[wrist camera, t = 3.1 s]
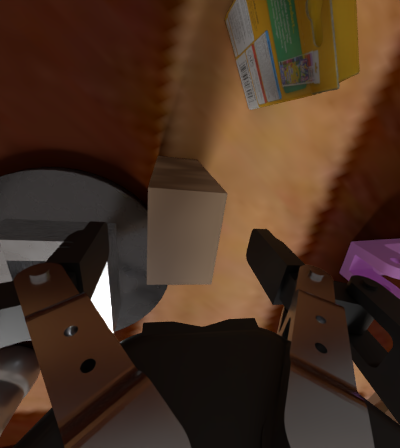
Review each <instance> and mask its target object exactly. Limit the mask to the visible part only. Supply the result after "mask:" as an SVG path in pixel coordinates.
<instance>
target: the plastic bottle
mask: <svg viewBox="0 0 400 448" xmlns="http://www.w3.org/2000/svg"><path fill="white" fill-rule="evenodd" d="M39 372H40V366H39V363H38V360H37V357H36V354H35V350H33V349H31V348H28V347H24V346H9V347H6V348H3V349H1V351H0V435H1V433H2V432H3V430H4V428H5V427H6V425H7V424H8V422H9V420H10V419H11V417H12V415H13V414H14V412H15V411H16V409H17V407H18V406H19V404H20V403H21V401H22V399H23V398H24V397H25V396H26V395H27V393H28V392H29V391H30V389H31V388H32V386H33V385H34V383H35V381H36V380H37V378H38V375H39Z"/></svg>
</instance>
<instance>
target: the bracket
mask: <svg viewBox="0 0 400 448" xmlns="http://www.w3.org/2000/svg"><path fill="white" fill-rule="evenodd" d="M340 274H341V275H342V276H343V277H345V278H346V279H347V280H348V281H349V280H350V278H351V276H353V275H360V276H364V277H367V278H370V279H372V280H374V281H376V282H378V283H379V284H381V285H382V286H384V287H385V288H386V289H387V290H389V291H390V292H391V293H393V294H394V295H395V296H396V297H398V298H399V299H400V289H399V288H398V287H396V286H395V285H393V284H392V283H391V282H389V281H388V280H386V279H385V278H383V277H382V276H381V275H387V276H390V277H392V278H396V279H400V239H384V240H368V241H352V242H351V244H350V246H349V249H348V252H347V254H346V257H345V260H344V262H343V265H342V267H341V270H340Z"/></svg>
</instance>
